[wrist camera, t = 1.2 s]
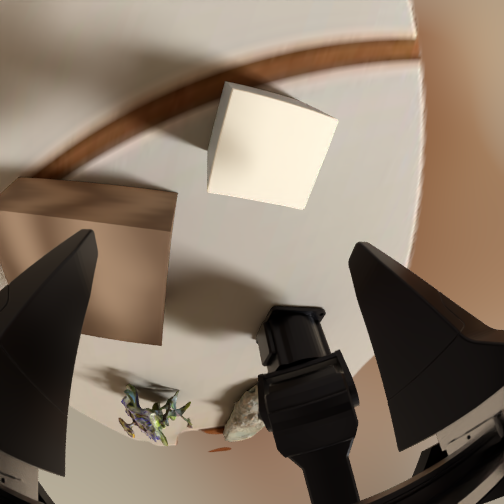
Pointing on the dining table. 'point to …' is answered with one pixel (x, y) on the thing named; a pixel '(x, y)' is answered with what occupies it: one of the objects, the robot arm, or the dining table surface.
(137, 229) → the walnut step
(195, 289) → the dining table surface
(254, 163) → the grey block
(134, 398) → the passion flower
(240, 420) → the elongated rock
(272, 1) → the dining table surface
